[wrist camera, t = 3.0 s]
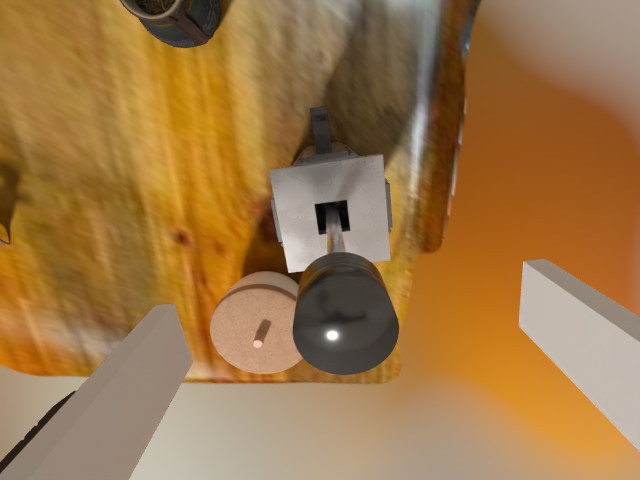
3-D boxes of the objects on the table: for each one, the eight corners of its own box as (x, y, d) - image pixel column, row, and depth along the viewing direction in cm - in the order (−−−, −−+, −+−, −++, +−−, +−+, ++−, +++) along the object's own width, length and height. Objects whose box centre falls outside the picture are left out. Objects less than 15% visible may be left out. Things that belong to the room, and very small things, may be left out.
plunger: (293, 175, 27) (246, 268, 10) (360, 166, 27) (426, 245, 10) (304, 238, 29) (279, 403, 12) (366, 230, 29) (430, 388, 12)
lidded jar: (242, 337, 43) (222, 393, 35) (218, 265, 40) (188, 307, 31) (321, 324, 43) (321, 377, 34) (304, 250, 39) (298, 287, 30)
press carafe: (275, 117, 34) (249, 116, 22) (363, 104, 33) (387, 95, 21) (295, 229, 38) (282, 280, 26) (373, 218, 38) (398, 266, 25)
